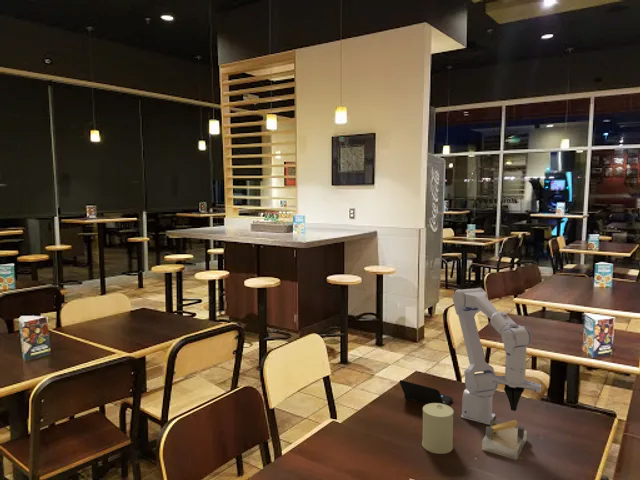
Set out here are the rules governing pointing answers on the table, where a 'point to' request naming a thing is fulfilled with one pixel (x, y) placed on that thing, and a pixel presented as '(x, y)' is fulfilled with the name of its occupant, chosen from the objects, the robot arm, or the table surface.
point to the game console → (423, 393)
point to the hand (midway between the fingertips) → (513, 409)
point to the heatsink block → (503, 441)
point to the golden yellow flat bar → (504, 426)
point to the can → (437, 428)
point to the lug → (521, 431)
